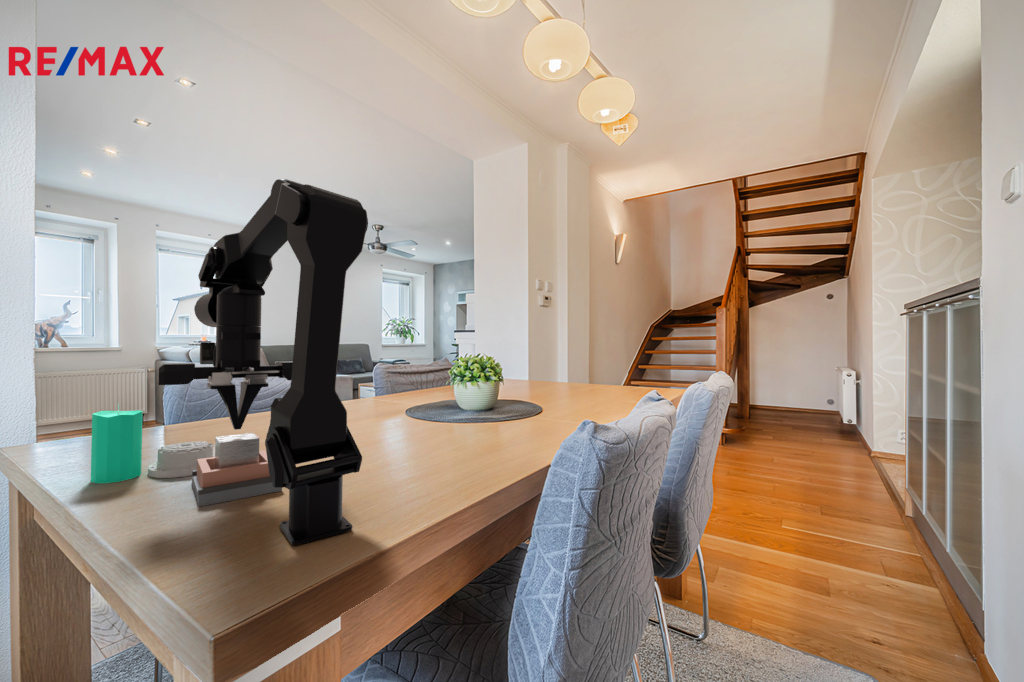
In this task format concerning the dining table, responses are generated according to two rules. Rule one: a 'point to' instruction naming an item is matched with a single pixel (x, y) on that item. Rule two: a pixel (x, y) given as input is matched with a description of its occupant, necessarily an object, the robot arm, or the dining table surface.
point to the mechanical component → (179, 459)
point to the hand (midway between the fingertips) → (237, 429)
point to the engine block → (236, 450)
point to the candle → (116, 445)
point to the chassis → (231, 481)
